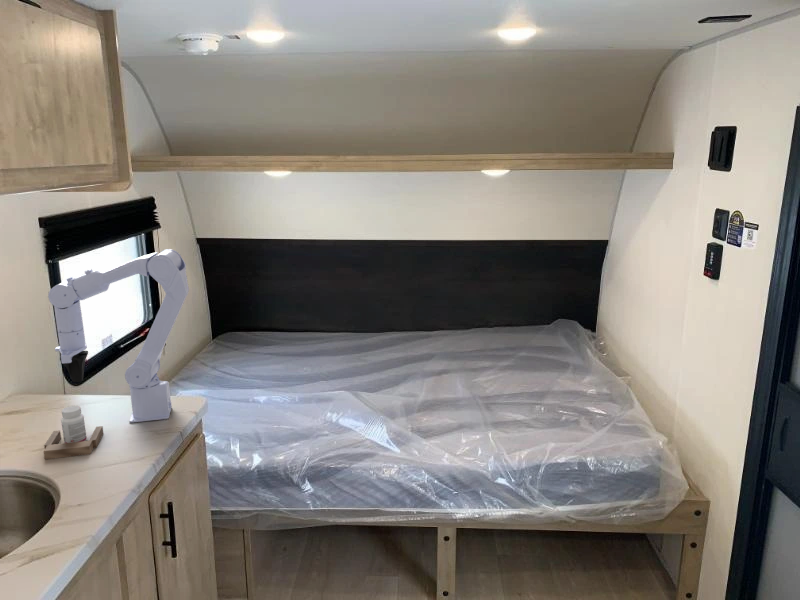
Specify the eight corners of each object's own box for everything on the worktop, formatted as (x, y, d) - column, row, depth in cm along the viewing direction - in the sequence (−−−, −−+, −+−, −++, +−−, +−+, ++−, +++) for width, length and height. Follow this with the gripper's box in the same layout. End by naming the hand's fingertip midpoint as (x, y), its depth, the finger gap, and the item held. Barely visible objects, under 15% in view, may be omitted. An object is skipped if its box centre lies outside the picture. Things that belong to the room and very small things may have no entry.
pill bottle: (91, 437, 147) (86, 405, 145) (78, 447, 143) (73, 413, 141) (73, 436, 148) (68, 404, 146) (59, 445, 144) (54, 412, 142)
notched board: (103, 433, 150) (102, 426, 149) (93, 453, 140) (92, 445, 139) (54, 438, 147) (53, 431, 147) (41, 459, 137) (40, 451, 137)
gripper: (61, 322, 158) (68, 372, 161) (43, 339, 144) (52, 393, 148) (90, 321, 160) (97, 370, 163) (76, 337, 146) (84, 390, 149)
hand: (77, 381), depth 155 cm, fingers closed
